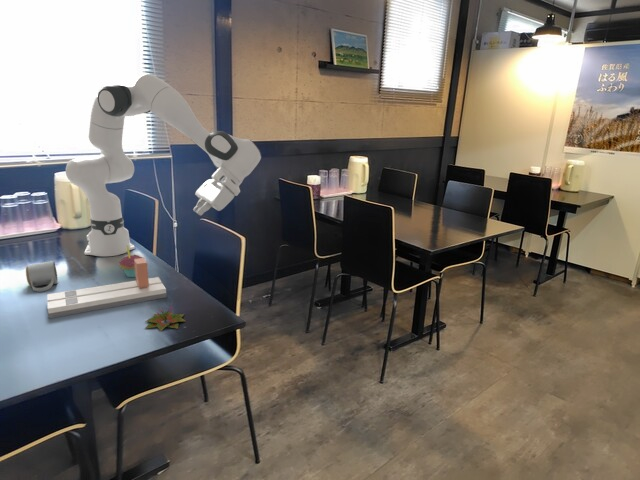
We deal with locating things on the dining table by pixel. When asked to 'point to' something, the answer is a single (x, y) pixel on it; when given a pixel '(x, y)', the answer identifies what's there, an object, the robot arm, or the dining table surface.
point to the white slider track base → (103, 297)
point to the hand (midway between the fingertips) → (196, 212)
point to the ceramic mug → (42, 275)
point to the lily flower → (164, 317)
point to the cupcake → (129, 264)
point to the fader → (141, 272)
